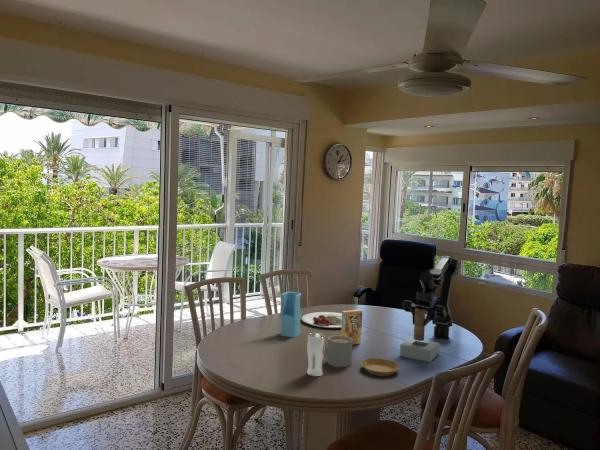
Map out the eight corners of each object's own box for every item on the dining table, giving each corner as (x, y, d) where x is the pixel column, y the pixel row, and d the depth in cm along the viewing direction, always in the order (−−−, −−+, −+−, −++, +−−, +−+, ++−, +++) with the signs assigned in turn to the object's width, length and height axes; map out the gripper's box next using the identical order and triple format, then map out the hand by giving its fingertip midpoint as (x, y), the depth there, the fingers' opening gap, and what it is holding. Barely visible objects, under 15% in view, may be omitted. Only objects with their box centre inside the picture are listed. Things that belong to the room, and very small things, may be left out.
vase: (279, 335, 232) (281, 294, 230) (286, 331, 239) (287, 291, 238) (294, 337, 229) (296, 296, 228) (300, 333, 236) (302, 293, 235)
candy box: (356, 341, 227) (357, 309, 226) (361, 343, 224) (362, 311, 222) (340, 343, 223) (341, 310, 222) (344, 345, 220) (346, 312, 219)
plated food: (360, 318, 271) (360, 312, 270) (353, 333, 241) (354, 326, 241) (307, 313, 277) (308, 307, 277) (295, 327, 248) (295, 320, 248)
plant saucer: (373, 361, 201) (373, 355, 201) (405, 371, 192) (405, 364, 192) (353, 371, 190) (353, 364, 189) (386, 381, 180) (387, 374, 180)
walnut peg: (420, 337, 214) (421, 308, 213) (426, 340, 209) (427, 310, 209) (411, 338, 212) (413, 308, 211) (417, 341, 208) (418, 311, 207)
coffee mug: (343, 369, 191) (344, 344, 190) (322, 363, 197) (323, 338, 196) (360, 360, 201) (361, 336, 201) (340, 354, 207) (341, 332, 207)
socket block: (410, 348, 220) (410, 337, 220) (438, 354, 213) (439, 343, 213) (399, 355, 209) (400, 344, 209) (429, 362, 202) (430, 350, 202)
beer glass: (305, 370, 188) (306, 332, 187) (322, 370, 189) (324, 332, 188) (306, 376, 181) (308, 337, 180) (325, 377, 182) (326, 337, 181)
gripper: (404, 282, 218) (393, 310, 209) (446, 288, 207) (436, 318, 199) (410, 296, 225) (399, 324, 216) (450, 302, 214) (441, 332, 206)
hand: (418, 325), depth 209 cm, fingers closed on walnut peg, 4 cm apart
